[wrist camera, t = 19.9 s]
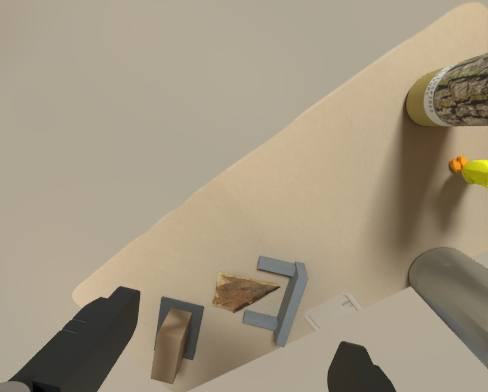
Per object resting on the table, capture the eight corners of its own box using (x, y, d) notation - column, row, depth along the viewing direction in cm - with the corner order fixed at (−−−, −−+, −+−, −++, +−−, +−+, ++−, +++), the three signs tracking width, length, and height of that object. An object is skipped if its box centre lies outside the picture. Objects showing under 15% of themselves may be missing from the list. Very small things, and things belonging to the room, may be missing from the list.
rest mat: (204, 306, 43) (203, 308, 43) (193, 358, 47) (192, 360, 47) (162, 296, 44) (161, 298, 43) (154, 348, 47) (154, 350, 47)
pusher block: (192, 312, 44) (181, 340, 38) (184, 352, 46) (172, 384, 41) (171, 307, 44) (157, 334, 38) (164, 347, 46) (150, 378, 41)
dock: (304, 263, 39) (308, 278, 35) (282, 328, 43) (284, 347, 39) (260, 253, 39) (260, 266, 36) (242, 318, 43) (240, 336, 40)
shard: (279, 281, 41) (280, 288, 40) (269, 315, 44) (269, 323, 42) (219, 267, 41) (217, 273, 40) (212, 302, 44) (210, 309, 42)
